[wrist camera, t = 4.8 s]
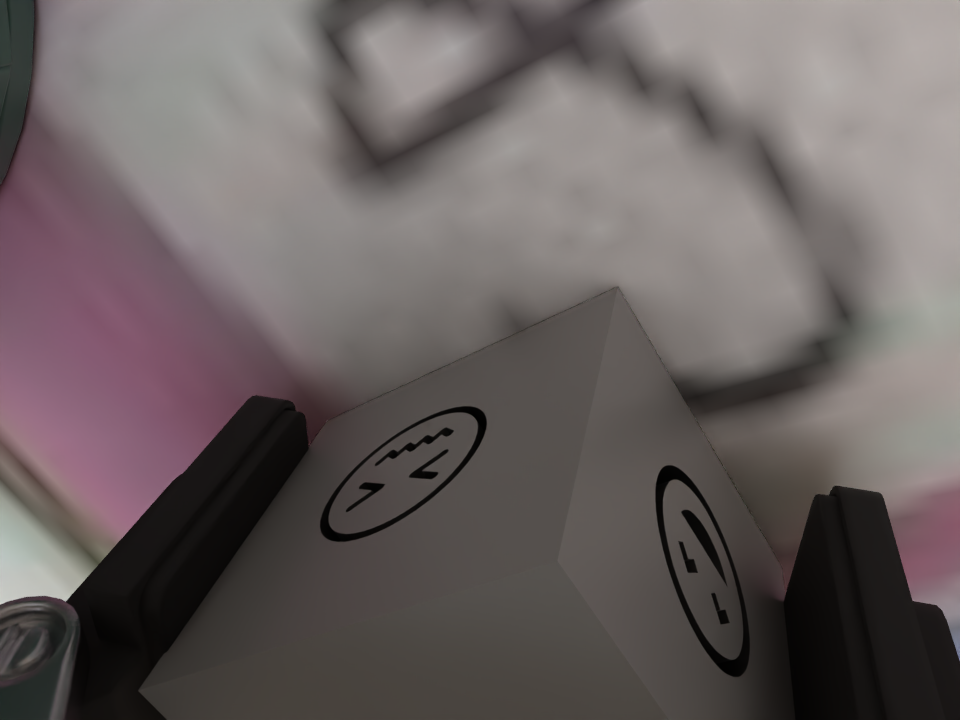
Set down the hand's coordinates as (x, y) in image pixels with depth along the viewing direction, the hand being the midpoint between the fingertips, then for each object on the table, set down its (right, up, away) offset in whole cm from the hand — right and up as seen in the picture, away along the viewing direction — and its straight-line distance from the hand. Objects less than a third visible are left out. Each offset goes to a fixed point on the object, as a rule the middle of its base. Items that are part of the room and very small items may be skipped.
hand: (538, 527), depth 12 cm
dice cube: (0, 0, +1) cm, 1 cm away
